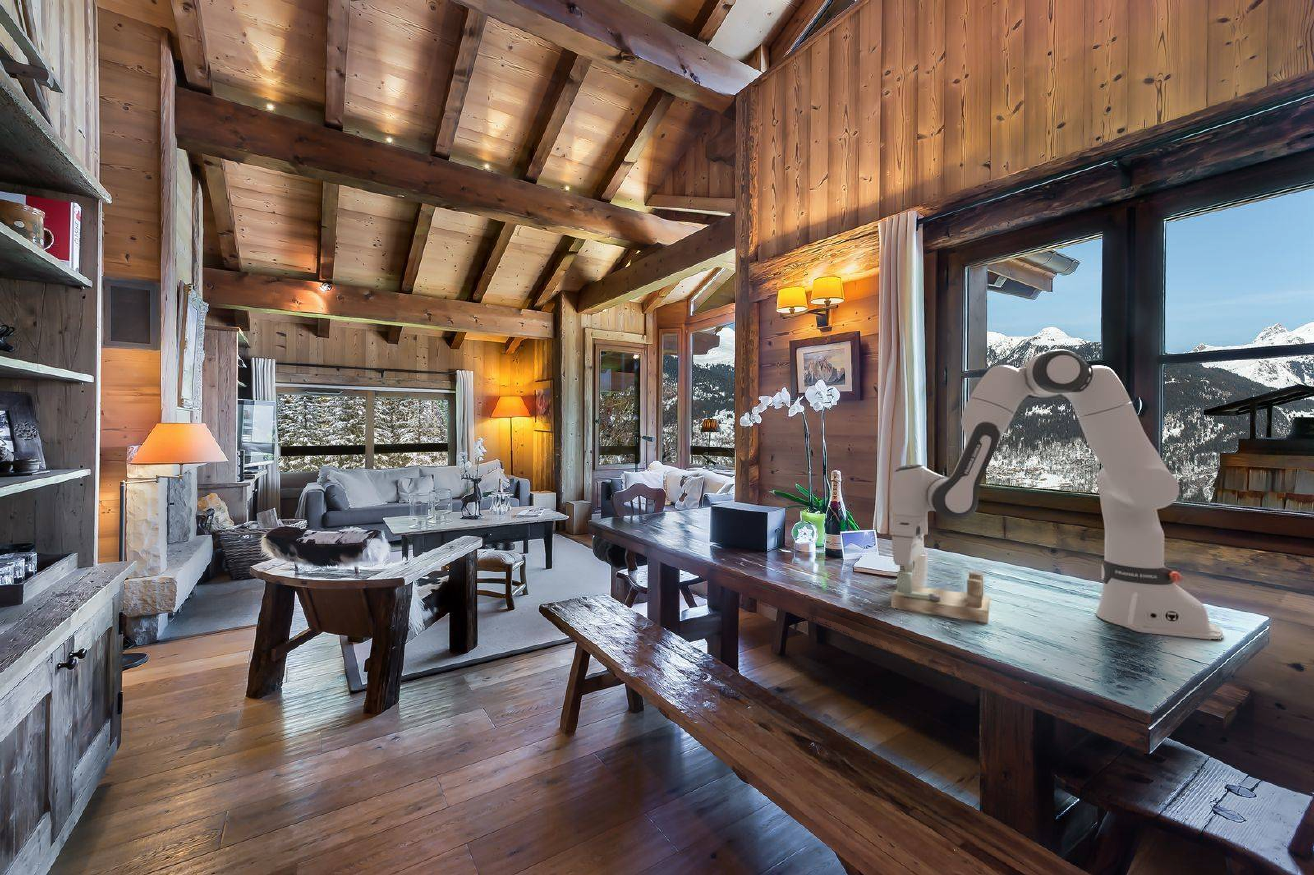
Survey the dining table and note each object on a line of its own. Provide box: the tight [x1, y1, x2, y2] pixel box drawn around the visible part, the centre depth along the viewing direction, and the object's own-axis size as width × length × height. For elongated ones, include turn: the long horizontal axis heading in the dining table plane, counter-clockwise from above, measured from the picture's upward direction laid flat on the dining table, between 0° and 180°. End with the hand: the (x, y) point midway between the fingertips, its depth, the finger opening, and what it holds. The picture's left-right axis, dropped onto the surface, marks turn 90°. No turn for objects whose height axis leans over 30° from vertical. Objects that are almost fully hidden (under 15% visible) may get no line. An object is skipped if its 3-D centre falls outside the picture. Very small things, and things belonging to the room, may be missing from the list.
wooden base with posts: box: [890, 565, 991, 624], centre depth 146 cm, size 22×14×9 cm, turn 58°
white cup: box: [912, 551, 929, 588], centre depth 167 cm, size 8×8×10 cm
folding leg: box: [896, 570, 940, 601], centre depth 145 cm, size 10×4×6 cm, turn 59°
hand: (909, 575), depth 150 cm, fingers closed
